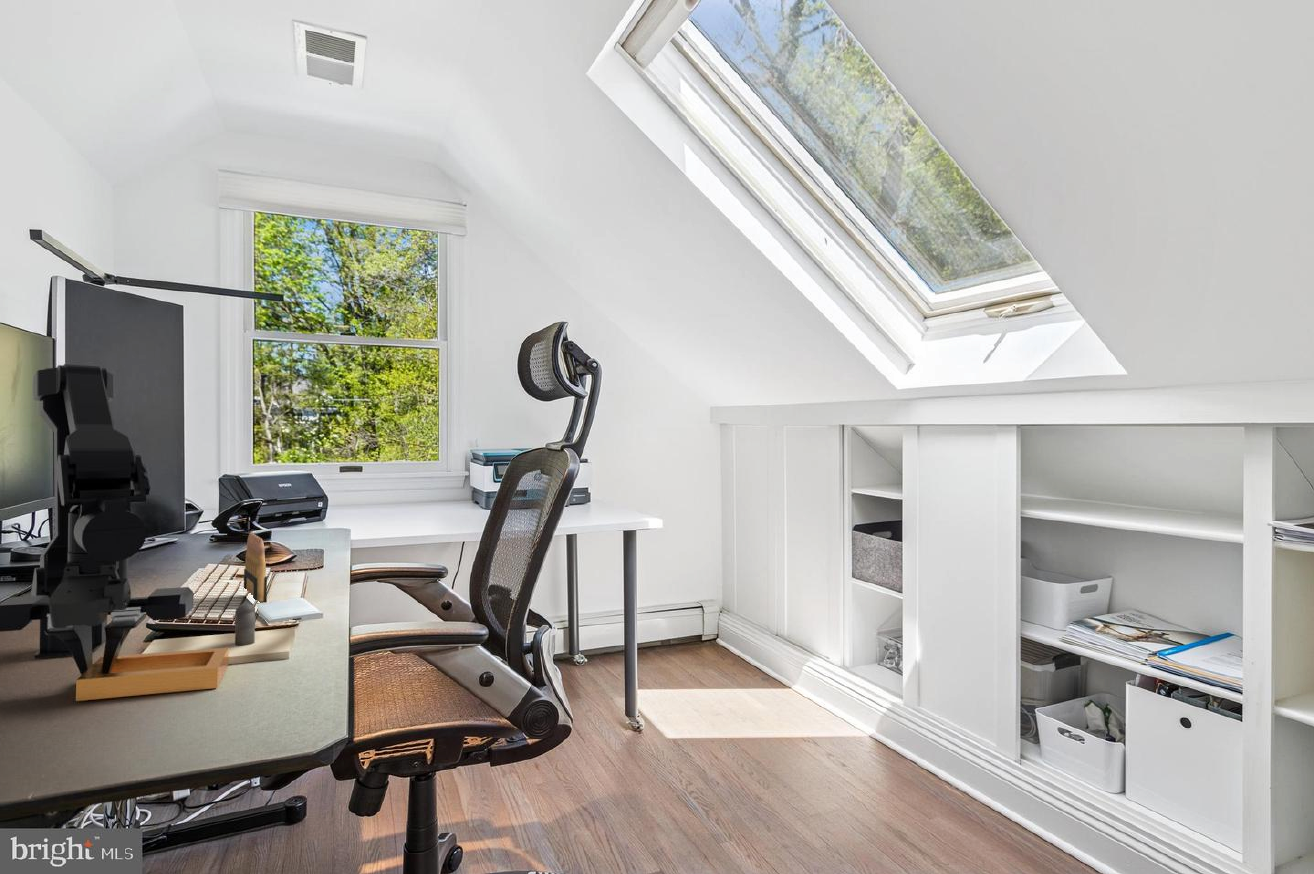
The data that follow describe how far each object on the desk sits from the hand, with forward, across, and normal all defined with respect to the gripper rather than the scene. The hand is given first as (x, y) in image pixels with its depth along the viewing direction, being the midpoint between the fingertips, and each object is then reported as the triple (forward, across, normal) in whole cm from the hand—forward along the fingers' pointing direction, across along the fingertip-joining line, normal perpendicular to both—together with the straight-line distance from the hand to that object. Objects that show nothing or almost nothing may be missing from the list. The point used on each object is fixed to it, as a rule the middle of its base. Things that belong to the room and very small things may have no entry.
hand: (96, 679), depth 85 cm
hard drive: (+2, +18, +31) cm, 36 cm away
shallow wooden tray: (+1, +6, 0) cm, 6 cm away
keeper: (+1, +11, +11) cm, 16 cm away
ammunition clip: (+2, +12, +43) cm, 45 cm away
